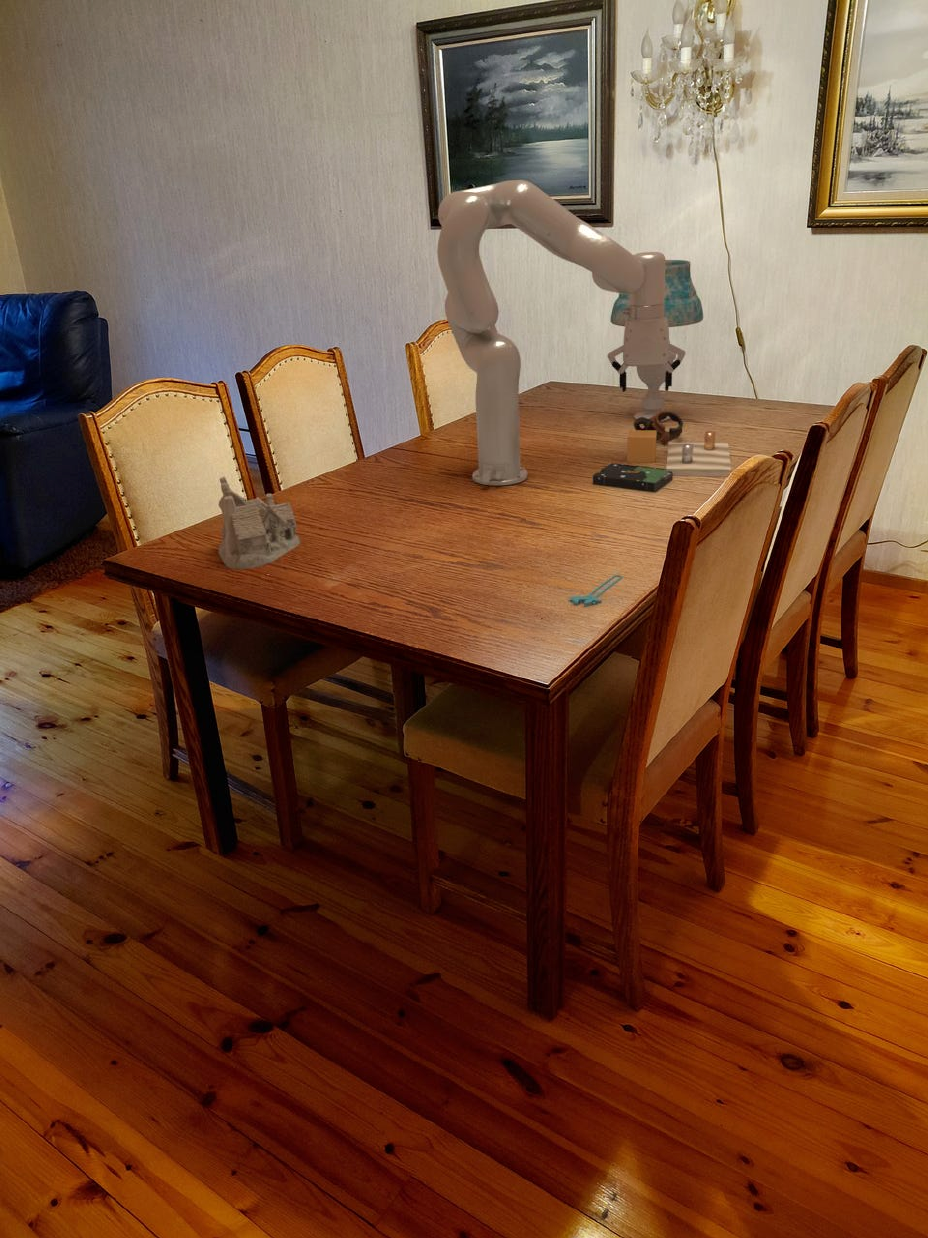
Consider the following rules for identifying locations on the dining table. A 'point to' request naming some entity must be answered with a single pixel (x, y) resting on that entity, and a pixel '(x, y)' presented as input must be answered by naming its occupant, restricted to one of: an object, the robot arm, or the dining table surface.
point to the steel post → (687, 453)
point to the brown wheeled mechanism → (661, 425)
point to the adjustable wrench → (591, 598)
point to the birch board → (699, 460)
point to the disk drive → (633, 477)
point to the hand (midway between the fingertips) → (645, 389)
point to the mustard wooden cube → (641, 446)
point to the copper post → (709, 441)
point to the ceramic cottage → (254, 530)
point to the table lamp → (679, 312)
